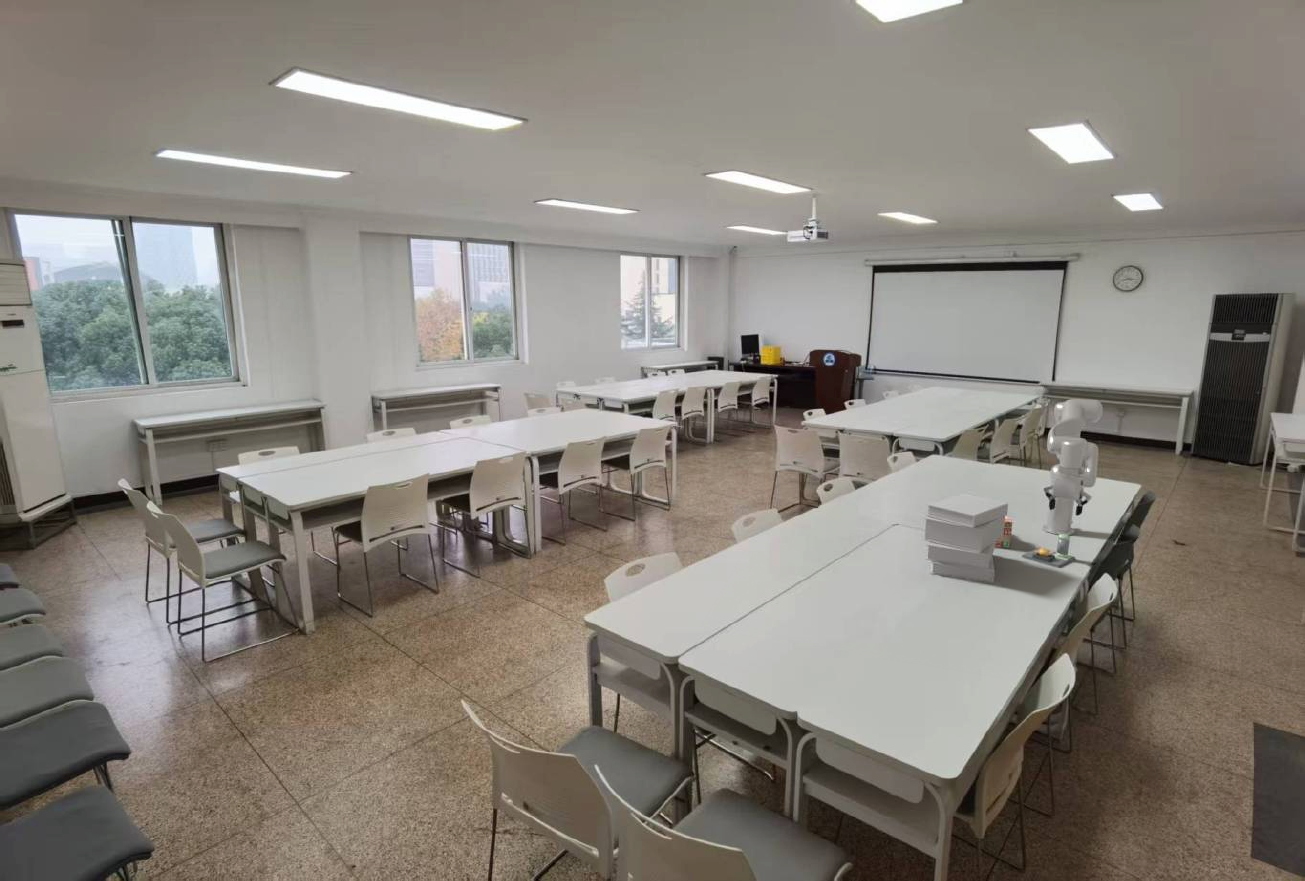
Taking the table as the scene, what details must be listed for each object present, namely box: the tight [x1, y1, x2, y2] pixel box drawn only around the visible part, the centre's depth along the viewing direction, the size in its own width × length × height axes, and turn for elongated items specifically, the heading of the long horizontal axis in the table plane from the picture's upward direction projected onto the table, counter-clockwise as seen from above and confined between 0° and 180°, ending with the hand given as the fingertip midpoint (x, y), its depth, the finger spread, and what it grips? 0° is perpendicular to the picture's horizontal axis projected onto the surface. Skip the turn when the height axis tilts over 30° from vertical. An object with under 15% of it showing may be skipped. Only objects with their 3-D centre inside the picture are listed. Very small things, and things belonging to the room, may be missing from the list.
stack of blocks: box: [994, 515, 1014, 549], centre depth 292 cm, size 21×6×12 cm, turn 171°
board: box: [1021, 547, 1076, 568], centre depth 270 cm, size 15×14×2 cm
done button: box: [1039, 548, 1050, 557], centre depth 267 cm, size 4×4×2 cm
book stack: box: [922, 492, 1009, 584], centre depth 263 cm, size 30×35×26 cm
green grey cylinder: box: [1056, 534, 1071, 558], centre depth 268 cm, size 4×4×9 cm
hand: (1064, 512), depth 265 cm, fingers open, 9 cm apart
